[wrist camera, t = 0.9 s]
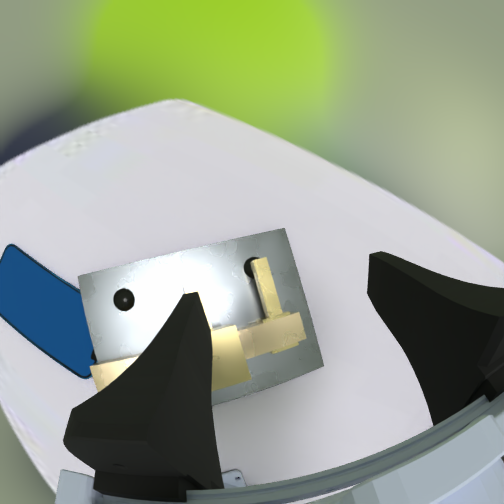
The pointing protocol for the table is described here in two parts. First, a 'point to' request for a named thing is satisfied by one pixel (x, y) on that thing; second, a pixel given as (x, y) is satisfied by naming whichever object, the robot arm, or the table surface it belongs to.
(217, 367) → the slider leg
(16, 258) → the smartphone
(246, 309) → the base
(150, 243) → the table surface
